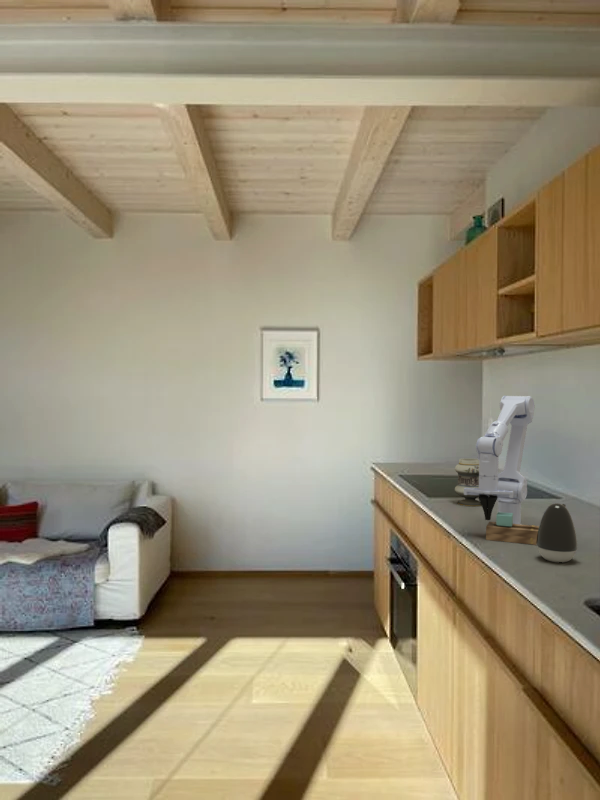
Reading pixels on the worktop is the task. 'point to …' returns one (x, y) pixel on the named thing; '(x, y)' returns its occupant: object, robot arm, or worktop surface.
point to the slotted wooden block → (512, 533)
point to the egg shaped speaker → (557, 534)
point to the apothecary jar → (468, 480)
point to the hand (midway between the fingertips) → (487, 519)
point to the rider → (504, 519)
